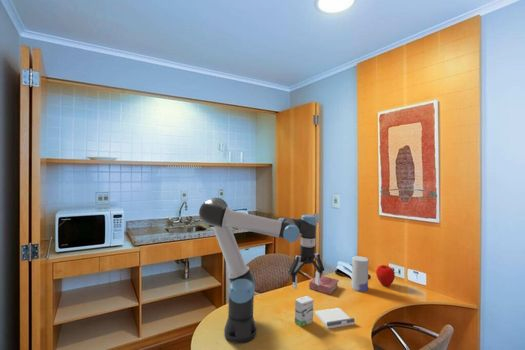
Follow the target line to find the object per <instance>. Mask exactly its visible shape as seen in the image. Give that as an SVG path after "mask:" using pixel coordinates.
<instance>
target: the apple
mask: <svg viewBox="0 0 525 350" xmlns="http://www.w3.org/2000/svg"><path fill="white" fill-rule="evenodd" d="M375 274H376V278H377V280H378V282H379V283H380V284H381V286H383V287H386V288H388V287H390V286H392V284H393V282H394V280H395V278H396V276H395V275H396V273H395V271H394V269H393V267H391V266H390V265H385V264H382V265H379V266H378V267H377V268H376V272H375Z"/></svg>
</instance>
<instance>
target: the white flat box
mask: <svg viewBox="0 0 525 350" xmlns="http://www.w3.org/2000/svg"><path fill="white" fill-rule="evenodd" d="M314 314H315V316H316V317H317V318H318V319H319V321H321V323H322V324H323V325H324V327H326V328H327V329H328V330H329V329H334V328H339V327H346V326H352V325H353V326H354V325H355V318H354V317H350V316H349V315H348V314H346V312H344V310H342V309H341V308H340V307H335V308H327V309H321V310H319V309H318V310H314Z"/></svg>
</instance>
